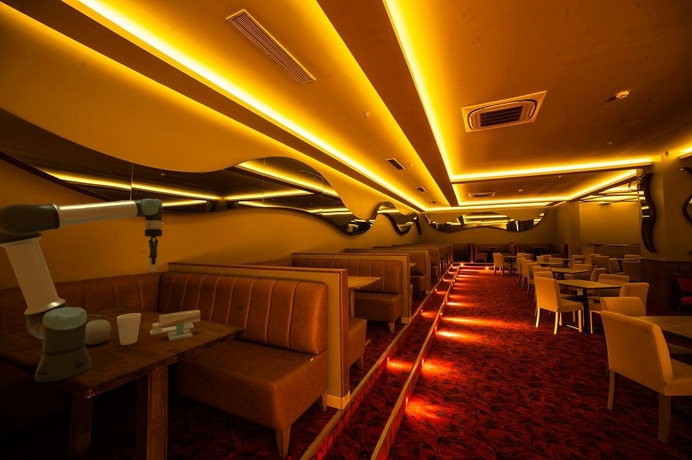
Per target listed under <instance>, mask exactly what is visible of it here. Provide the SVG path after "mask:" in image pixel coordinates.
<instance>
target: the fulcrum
mask: <svg viewBox="0 0 692 460" xmlns="http://www.w3.org/2000/svg"><path fill="white" fill-rule="evenodd" d="M175 326H176V331H172V332H167V337H168V341H169V342H171V341H177V340H182V339H187V338H192V337H193V333H192V331H191V330H190V328H189V329H184V324H179V325H175Z"/></svg>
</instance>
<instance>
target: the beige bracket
mask: <svg viewBox="0 0 692 460" xmlns="http://www.w3.org/2000/svg"><path fill="white" fill-rule="evenodd" d="M194 328H195V327H194V324H193V322H191V323H185V324H184V330H188V329H189V330H190V329H194ZM171 332H176V325H172V326H167V327H159V322H156V323H152V329H150V331H149V333H150V336H154V335H159V334H160V335H161V334H167V333H171Z"/></svg>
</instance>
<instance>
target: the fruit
mask: <svg viewBox="0 0 692 460" xmlns="http://www.w3.org/2000/svg"><path fill="white" fill-rule="evenodd" d="M86 316H91V317H92V316H93V317H96V319H94V320H91V321H89V322H88V323H86V344H87V345H91V346H96V345H100V344H102V343H104V342H106V341H107V340H108V339H109V338H110V337H111V333H112V326H111V324H110V322H109V321H108V320H105V319H100V317H106V318H108V319H109V320H111V318H110V316H107V315H103V314H93V313H92V314H87V313H86Z"/></svg>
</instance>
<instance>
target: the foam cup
mask: <svg viewBox="0 0 692 460" xmlns="http://www.w3.org/2000/svg"><path fill="white" fill-rule="evenodd" d="M141 320H142V313H140V312H139V313H138V312H137V313H136V312H134V313H133V312H131V313H126V314H121V315H118V316H117V317H116V324H117V330H118V336H119V343H120V345H121V346H128V345H132V344H135V343H137V341H138V336H139V329H140V323H141Z"/></svg>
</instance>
